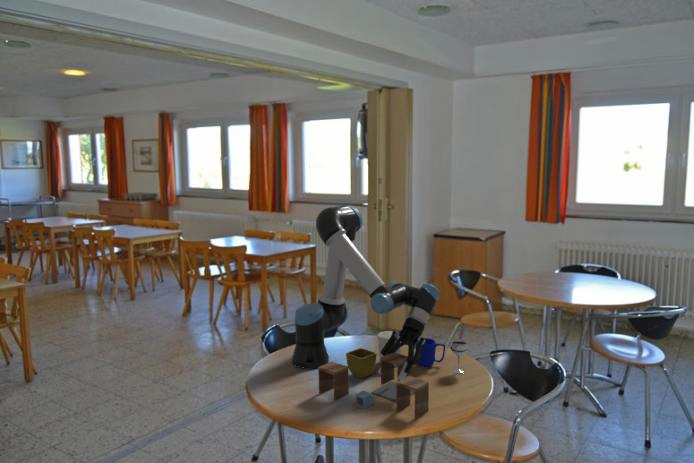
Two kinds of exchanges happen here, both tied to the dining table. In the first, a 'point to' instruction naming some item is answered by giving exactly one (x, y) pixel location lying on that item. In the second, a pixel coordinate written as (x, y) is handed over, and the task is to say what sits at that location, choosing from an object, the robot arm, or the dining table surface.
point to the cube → (363, 399)
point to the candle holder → (383, 339)
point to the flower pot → (361, 362)
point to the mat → (389, 391)
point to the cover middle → (392, 366)
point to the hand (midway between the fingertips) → (390, 377)
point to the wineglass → (459, 350)
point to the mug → (429, 353)
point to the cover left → (334, 379)
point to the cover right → (420, 394)
